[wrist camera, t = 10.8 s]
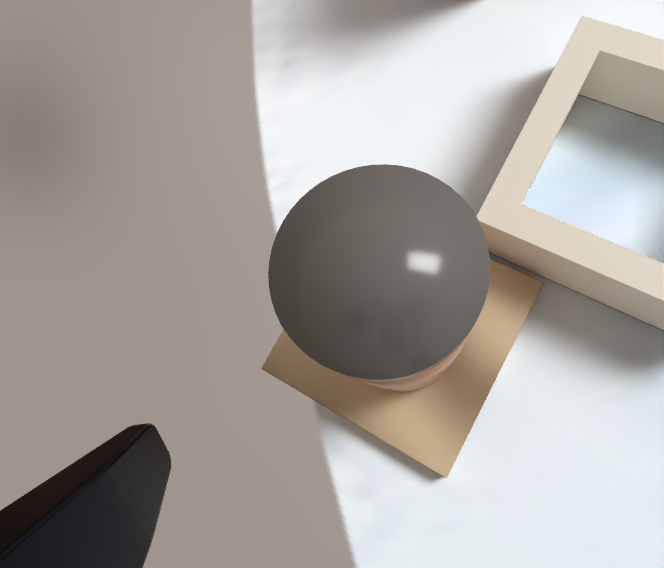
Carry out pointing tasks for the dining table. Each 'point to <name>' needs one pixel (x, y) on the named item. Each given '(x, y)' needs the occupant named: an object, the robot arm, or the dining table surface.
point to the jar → (380, 275)
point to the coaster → (429, 402)
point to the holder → (532, 149)
